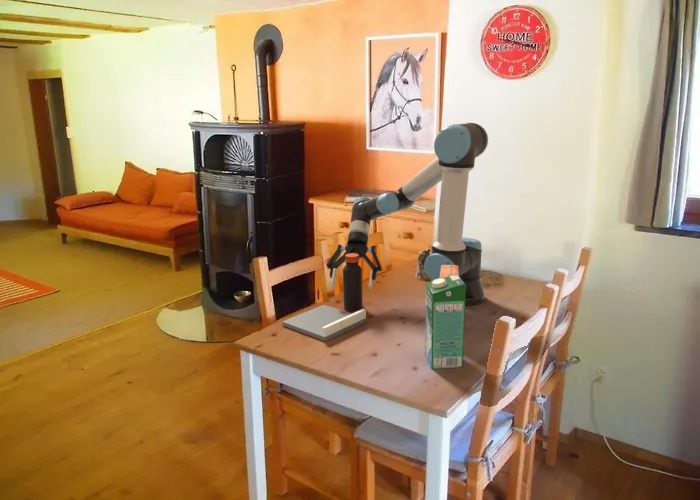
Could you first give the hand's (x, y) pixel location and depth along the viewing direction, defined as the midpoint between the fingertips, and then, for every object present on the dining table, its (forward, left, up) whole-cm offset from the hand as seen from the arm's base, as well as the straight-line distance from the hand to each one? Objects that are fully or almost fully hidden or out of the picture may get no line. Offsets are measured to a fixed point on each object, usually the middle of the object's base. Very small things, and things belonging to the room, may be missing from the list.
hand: (351, 286), depth 201 cm
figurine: (+1, -47, -9) cm, 48 cm away
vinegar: (+1, -2, -9) cm, 9 cm away
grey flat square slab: (-1, +15, -9) cm, 18 cm away
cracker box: (-37, -5, -9) cm, 38 cm away
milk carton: (-47, +13, -9) cm, 50 cm away
